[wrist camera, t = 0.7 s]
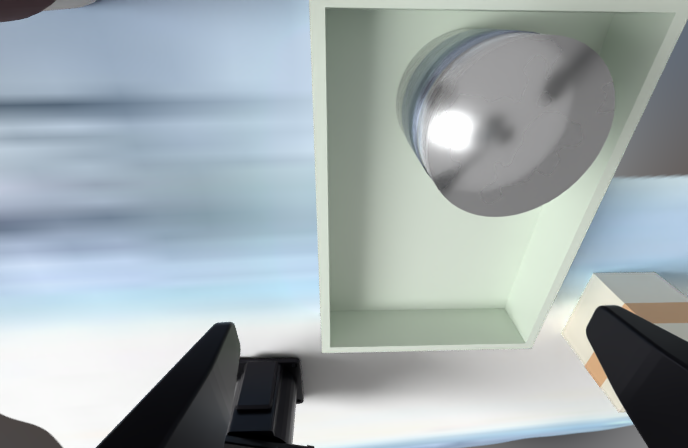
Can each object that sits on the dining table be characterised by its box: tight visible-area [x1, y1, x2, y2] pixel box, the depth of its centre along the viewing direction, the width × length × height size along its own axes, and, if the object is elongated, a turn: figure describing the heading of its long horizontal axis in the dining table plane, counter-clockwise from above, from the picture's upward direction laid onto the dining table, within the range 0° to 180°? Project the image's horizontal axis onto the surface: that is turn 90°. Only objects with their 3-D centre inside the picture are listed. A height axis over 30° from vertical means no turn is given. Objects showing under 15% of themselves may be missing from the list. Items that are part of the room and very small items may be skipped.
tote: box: [309, 0, 688, 353], centre depth 20 cm, size 21×15×4 cm
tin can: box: [396, 28, 615, 217], centre depth 15 cm, size 7×7×7 cm
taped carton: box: [561, 272, 688, 412], centre depth 25 cm, size 7×5×7 cm
